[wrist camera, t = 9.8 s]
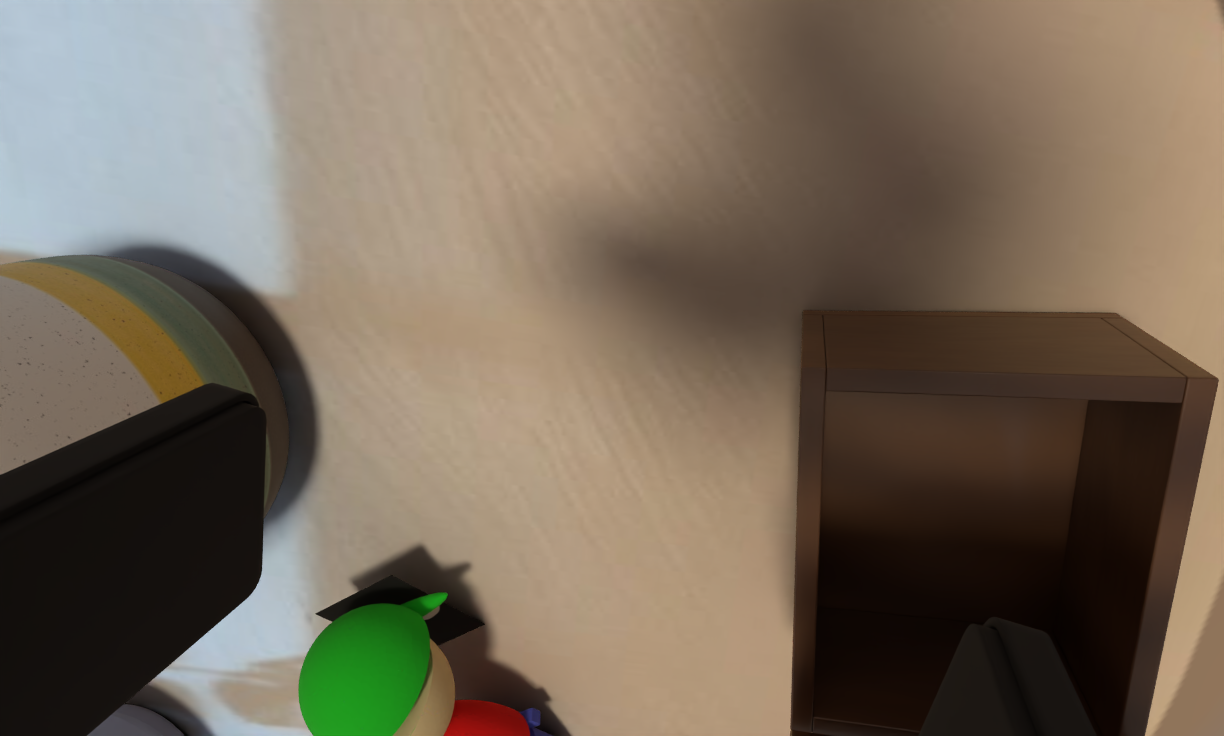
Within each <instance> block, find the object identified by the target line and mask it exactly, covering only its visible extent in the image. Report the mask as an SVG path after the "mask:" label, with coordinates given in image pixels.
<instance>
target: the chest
mask: <svg viewBox="0 0 1224 736" xmlns="http://www.w3.org/2000/svg"><path fill="white" fill-rule="evenodd" d="M1218 381H1219V380H1218V378H1217V377H1215V376H1213V375H1212V374H1210V373H1209V372H1207V371H1206V370H1204V369H1202V368H1201V367H1199V366H1198V365H1196V364H1195V363H1193V362H1192V361H1190V360H1188V359H1187V358H1185V357H1184V356H1182V355H1181V354H1179V353H1178V352H1176V351H1174V350H1173V349H1171V348H1170V347H1168V346H1167V345H1165V344H1163V343H1162V342H1160V341H1159V340H1157V339H1156V338H1154V337H1153V336H1151V335H1149V334H1148V333H1146V332H1145V331H1143V330H1142V329H1140V328H1139V327H1137V326H1135V325H1134V324H1132V323H1131V322H1129V321H1128V320H1126V319H1124V318H1123V317H1121V316H1120V315H1118V314H1116V313H1027V312H920V311H813V310H804V311H803V314H802V347H801V381H800V416H799V450H798V485H797V519H796V554H795V588H794V623H793V657H792V692H791V726H790V729H791V730H797V731H804V732H811V733H812V732H813V733H818V734H826V735H833V736H918V735H919V733H920V731H921V728H922V726H923V724H924V722H925V719H926V717H927V715H928V713H929V711H930V708H931V706H932V704H933V702H934V699H935V697H936V695H937V693H938V690H939V688H940V686H941V684H942V681H943V679H944V677H945V675H946V672H947V670H948V668H949V666H950V663H951V661H952V659H953V657H954V654H955V652H956V650H957V648H958V645H959V643H960V641H961V639H962V636H963V634H964V632H965V630H966V629H967V627H968V626H969V625H970V624H973V623H974V624H977V625H981V626H983V625H984V623H985V622H986V621H987V620H988V619H989V618H992V617H997V618H1001V619H1004V620H1007V621H1011V622H1014V623H1017V624H1021V625H1024V626H1027V627H1031V628H1034V629H1037V630H1041V631H1043V632H1045V633H1047V634H1048V635H1049V637H1050V638H1051V640H1052V642H1053V644H1054V646H1055V648H1056V651H1057V653H1058V655H1059V657H1060V659H1061V661H1062V663H1063V665H1064V667H1065V670H1066V672H1067V674H1068V676H1069V678H1070V680H1071V682H1072V684H1073V686H1074V689H1075V691H1076V693H1077V695H1078V697H1079V699H1080V701H1081V703H1082V706H1083V708H1084V710H1085V712H1086V714H1087V716H1088V718H1089V720H1090V722H1091V725H1092V727H1093V729H1094V731H1095V733H1096V735H1097V736H1145V732H1146V728H1147V723H1148V718H1149V713H1150V708H1151V704H1152V699H1153V694H1154V689H1155V684H1156V679H1157V675H1158V670H1159V665H1160V660H1161V655H1162V651H1163V646H1164V641H1165V636H1166V631H1167V627H1168V622H1169V617H1170V612H1171V607H1172V602H1173V598H1174V593H1175V588H1176V583H1177V578H1178V574H1179V569H1180V564H1181V559H1182V554H1183V550H1184V545H1185V540H1186V535H1187V530H1188V525H1189V521H1190V516H1191V511H1192V506H1193V501H1194V497H1195V492H1196V487H1197V482H1198V477H1199V473H1200V468H1201V463H1202V458H1203V453H1204V448H1205V444H1206V439H1207V434H1208V429H1209V424H1210V420H1211V415H1212V410H1213V405H1214V400H1215V396H1216V391H1217V386H1218Z"/></svg>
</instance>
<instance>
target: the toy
mask: <svg viewBox="0 0 1224 736" xmlns="http://www.w3.org/2000/svg"><path fill="white" fill-rule="evenodd" d="M447 596H448V594H447V593H445V592H439V593H433V594H427V593H425V592H423V591H421V590H419V589H417V588H415V587H414V586H412V585H410V584H408V583H406V582H404V581H402V580H400V579H398V578H397V577H395V576H393V575H390V576H388V577H386V578H385V579H383V580H381V581H379V582H377V583H375V584H373V585H371V586H369V587H367V588H365V589H363V590H361V591H359V592H357V593H355V594H353V595H351V596H349V597H347V598H345V599H343V600H341V601H339V602H338V603H336V604H334V605H332V606H330V607H328V608H326V609H324V610H322V611H320V612H318V613H316V614H317V615H319V616H321V617H323V618H325V619H328V620H330V621H332V623H331V624H330V625H328V626H327V627H326V628H325V629H324V630H323V631H322V633H321V634H320V635H319V636H318V637H317V639H316V640H315V641H314V643H313V644H312V646H311V648H310V649H309V651H308V653H307V655H306V658H305V660H304V663H303V666H302V669H301V674H300V679H299V703H300V708H301V712H302V715H303V718H304V720H305V723H306V725H307V727H308V728H309V730H310V732H311V733H312V734H313V736H553V735H550V734H548V733H546V732H543V731H541V730H539V729H536V728H534V727H535V726H538V725H540V711H539V710H537V709H534V708H529V709H527V710H524V711H521V712H518V711H516V710H514V709H512V708H509V707H507V706H504V705H500V704H497V703H493V702H488V701H481V700H455V684H454V678H453V674H452V671H451V668H450V665H449V663H448V660H447V659H446V657H445V655H444V654H443V652H442V651H441V649H440V648H439V647H438V645H441V644H443V643H445V642H447V641H449V640H452V639H454V638H456V637H458V636H461V635H463V634H465V633H467V632H470V631H472V630H474V629H476V628H478V627H481V626H483V625H485V624H484V623H482V622H480V621H478V620H476V619H474V618H472V617H470V616H468V615H467V614H465V613H463V612H461V611H459V610H457V609H455V608H453V607H451V606H450V605H448V604H446V603H444V601H445V600H446V599H447Z"/></svg>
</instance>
